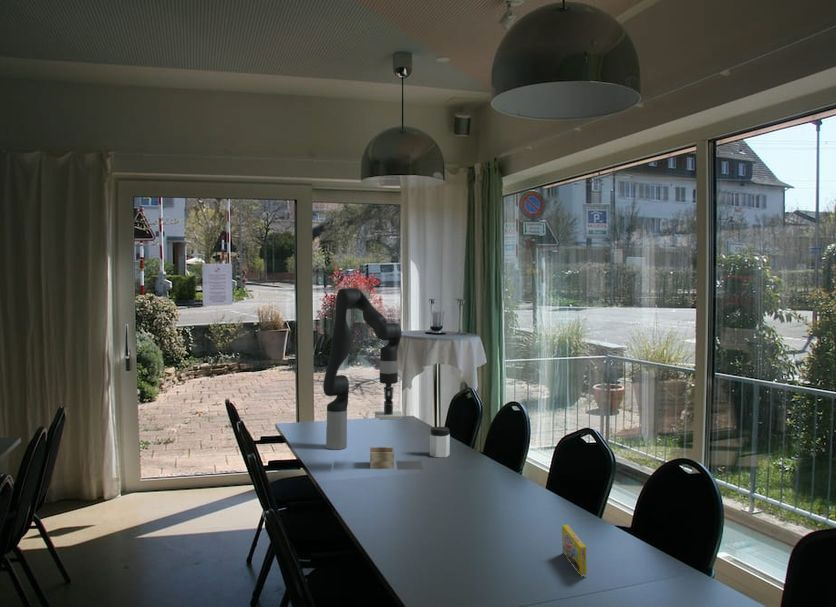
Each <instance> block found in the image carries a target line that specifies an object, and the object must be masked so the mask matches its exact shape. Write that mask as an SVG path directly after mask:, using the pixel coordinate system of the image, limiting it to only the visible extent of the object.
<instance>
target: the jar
mask: <svg viewBox="0 0 836 607" xmlns="http://www.w3.org/2000/svg"><path fill="white" fill-rule="evenodd" d="M450 440H451V434H450V428H449V427H446V426H433V427H430V434H429V456H430V457H433V458H436V457H439V458H447V457H449V456H450V452H451V451H450V450H451V447H450V443H451V442H450Z"/></svg>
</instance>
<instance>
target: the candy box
mask: <svg viewBox="0 0 836 607" xmlns="http://www.w3.org/2000/svg"><path fill="white" fill-rule="evenodd" d="M561 534H562V535H561V538H562V539H561V541H562V545H561V546H562V553H563V552H564V553H565V554H566V556H567V557H568V559H569V560H570V561H571V563H572V564H573V565H574V567H575V568H576V569H577V571H578V572H579V573H580V575H583V574H584V575H586V574H587V546H586V545H585V544H584V542H583V541H582V540H581V539H580V538H579V536H578V535H577V534H576V532H574V531H573V529H572V528H571V527H570V525H569V524H563V525H561ZM568 559H567V560H568Z"/></svg>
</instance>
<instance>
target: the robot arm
mask: <svg viewBox="0 0 836 607" xmlns="http://www.w3.org/2000/svg"><path fill="white" fill-rule="evenodd" d="M355 309H358V310H359V311H361V312H362V318H363V321H364V322H365V323H366V324H367V325H368V326H369V327H370V328H371V329H372V331H373V332H374V334H375V336H376V338H377V339H379V340H381V341H388V343H387V344H386V345H383V346H381V348H380V351H379V352H380V353H379V355H380V356H379V358H380V359H379V384H383V385H384V384H385V386H383V395H384V401H386V402H385V404H386V414H391V405H392V401H393V399H394V386H392V385H394V384H397V383H398V382H399V381H398V380H399V377H398V376H399V369H398V368H399V365H398V350H399V345H400V341H401V339H402V333H403V332H402V327H401V326H400V324H399V323H397V322H389V323H388V321H387V318H386V317H385V315H383V314H382V313H381V312H379V310H377V309H376V308H375V307H374V306H373V305H372V303H371V302H370V300H369V299H368V298H367V296H365V293H363V291H362V290H360V289H359V288H356V287H355V288H354V287H353V288H349V287H347V288H346V287H345V288H340V289H339V290H337V293H336V298H335V313H334V323H333V329H332V330H333V331H332V336H331V342H330V350H329V356H328V361H327V367H326V371H325V375H324V378H323V385H322V388H323V393H324V395H325V396H327V397H335V398H334V400H333V401H331V402H328V403H327V405H326V430H325V432H326V435H325V440H326V446H325V447H326V449H327V450H344V449H347V446H348V438H347V437H348V406H349V391H350V390H349V389H350V382H349V379H348V377H347V375H344V374H340V375H339V374H338V371H339V369H340V367H341V365H342V364H343V363H344V362H345V360H346V359H347V358H348V356H349V355H350V353H351V351H352V344H353V333H352V331H351V329H350V327H349V325H348V322H347V312H348V310H355ZM337 374H338V375H337ZM343 448H344V449H343Z"/></svg>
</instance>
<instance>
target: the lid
mask: <svg viewBox="0 0 836 607" xmlns="http://www.w3.org/2000/svg"><path fill="white" fill-rule="evenodd" d="M385 402H386V401H385V400H384V401H383V411H382V410H381V411H377V410H375V411H374V419H379V421H398V419H403V414H402V411H400V410H399V411H398V410H397V411H394V409H393V408H394V407H393V406H394V404H393V403H394V402H393V400H392V405H391V414H386V404H385Z"/></svg>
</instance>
